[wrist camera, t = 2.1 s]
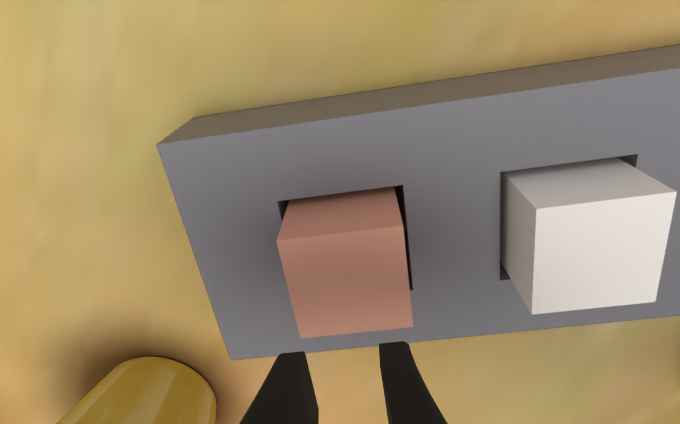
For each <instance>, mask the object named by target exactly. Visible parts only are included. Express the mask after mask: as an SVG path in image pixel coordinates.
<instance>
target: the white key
mask: <svg viewBox="0 0 680 424" xmlns="http://www.w3.org/2000/svg"><path fill="white" fill-rule="evenodd" d="M676 194H677V191H675V190H673V189H671V188H670V187H668V186H666V185H664V184H663V183H661V182H659V181H657V180H656V179H654V178H652V177H650V176H649V175H647V174H645V173H643V172H642V171H640V170H638V169H636V168H635V167H633V166H631V165H629V164H628V163H626V162H624V161H622V160H621V159H619V158H617V157H611V158H604V159H596V160H588V161H581V162H573V163H565V164H558V165H550V166H542V167H535V168H527V169H520V170H512V171H504V172H500V262H501V263H502V265H503V267H504V268H505V270H506V272H507V274H508V275H509V277H510V279H511V280H512V282H513V284H514V286H515V287H516V289H517V291H518V292H519V294H520V296H521V297H522V299H523V301H524V303H525V304H526V306H527V308H528V309H529V311H530V313H531V315H533V314H543V313H553V312H562V311H572V310H582V309H591V308H601V307H611V306H620V305H630V304H640V303H649V302H655V301H656V296H657V291H658V286H659V281H660V276H661V270H662V265H663V260H664V255H665V250H666V245H667V240H668V235H669V230H670V225H671V220H672V214H673V209H674V204H675V199H676Z"/></svg>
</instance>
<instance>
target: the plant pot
mask: <svg viewBox="0 0 680 424" xmlns="http://www.w3.org/2000/svg"><path fill="white" fill-rule="evenodd" d="M215 418H216V399H215V395H214V393H213V391H212V389H211V387H210V386H209V384H208V383H207V381H206V380H205V379H204V378H203V377H202V376H201V375H199V374H198V373H197V372H196V371H194V370H193V369H191V368H190V367H188V366H186V365H184V364H182V363H179V362H177V361H174V360H170V359H167V358H161V357H139V358H134V359H130V360H128V361H125V362H123V363H121V364H119V365H118V366H116V367H115V368H114V369H113V370H112V371H111V372H110V373H109V374H108V375H107V376H105V377H104V378H103V379H102V380H101V381H100V382H99V383H98V384H97V385H96V386H95V387H94V388H93V389H92V390H91V391H90V392H89V393H88V394H87V395H86V396H85V397H84V398H83V399H81V400H80V401H79V402H78V403H77V404H76V405H75V406H74V407H73V408H72V409H71V410H70V411H69V412H68V413H67V414H66V415H65V416H64V417H63V418H62V419H61V420H59V421H58V422H57V423H56V424H215Z"/></svg>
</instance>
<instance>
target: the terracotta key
mask: <svg viewBox="0 0 680 424" xmlns="http://www.w3.org/2000/svg"><path fill="white" fill-rule="evenodd" d="M276 242H277V246H278V250H279V254H280V258H281V262H282V266H283V270H284V274H285V278H286V282H287V287H288V291H289V295H290V299H291V303H292V307H293V311H294V315H295V319H296V323H297V327H298V331H299V335H300V339H301V338H311V337H320V336H330V335H340V334H349V333H359V332H369V331H378V330H388V329H398V328H407V327H413V319H412V309H411V299H410V289H409V279H408V269H407V259H406V249H405V239H404V229H403V223H402V218H401V214H400V210H399V206H398V202H397V198H396V193H395V189H394V186H390V187H382V188H375V189H367V190H359V191H352V192H344V193H337V194H329V195H321V196H314V197H306V198H298V199H291V200H289V202H288V206H287V209H286V212H285V215H284V218H283V221H282V225H281V228H280V231H279V234H278V237H277V241H276Z"/></svg>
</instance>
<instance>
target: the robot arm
mask: <svg viewBox="0 0 680 424" xmlns="http://www.w3.org/2000/svg"><path fill="white" fill-rule="evenodd" d="M379 354H380V368H381V375H382V381H383V388H384V395H385V402H386V408H387V415H388V422H389V424H447V422H446V420H445V419H444V417H443V415H442V414H441V412H440V410H439V408H438V407H437V405H436V403H435V402H434V400H433V398H432V396H431V395H430V393H429V391H428V389H427V387H426V385H425V383H424V381H423V379H422V377H421V375H420V373H419V371H418V368H417V366H416V364H415V361H414V359H413V356H412V354H411V351H410V347H409V344H408V343H406V342H405V341H399V342H389V343H379ZM318 413H319V409H318V405H317V401H316V396H315V392H314V388H313V384H312V380H311V376H310V372H309V368H308V364H307V360H306V355H305V351H300V352H290V353H281V354H280V355H279V356H278V357H277V359H276V361H275V362H274V364H273V366H272V368H271V370H270V372H269V374H268V376H267V377H266V379H265V381H264V383H263V385H262V387H261V388H260V390H259V392H258V394H257V395H256V397H255V399H254V401H253V402H252V404H251V406H250V407H249V409H248V410H247V412H246V414H245V415H244V417H243V419H242V420H241V422H240V424H318Z"/></svg>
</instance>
